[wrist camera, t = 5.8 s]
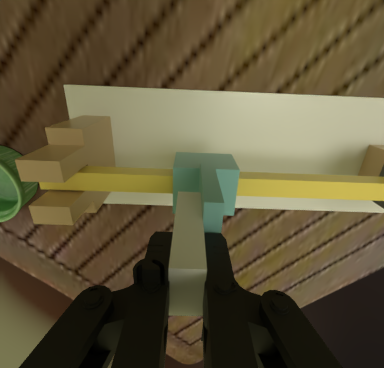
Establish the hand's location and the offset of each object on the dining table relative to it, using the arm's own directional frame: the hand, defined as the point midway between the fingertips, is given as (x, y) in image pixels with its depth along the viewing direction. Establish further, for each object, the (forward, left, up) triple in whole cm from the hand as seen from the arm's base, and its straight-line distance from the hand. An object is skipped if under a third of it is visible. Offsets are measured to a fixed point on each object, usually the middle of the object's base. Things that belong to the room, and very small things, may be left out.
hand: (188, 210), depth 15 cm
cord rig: (0, +8, -14) cm, 16 cm away
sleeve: (0, +1, -7) cm, 7 cm away
